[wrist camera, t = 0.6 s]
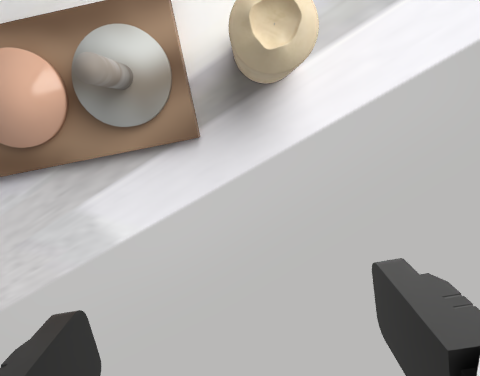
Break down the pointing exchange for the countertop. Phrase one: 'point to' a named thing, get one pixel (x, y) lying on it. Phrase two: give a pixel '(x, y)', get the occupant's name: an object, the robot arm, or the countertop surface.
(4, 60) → the pad
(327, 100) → the countertop surface
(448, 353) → the robot arm
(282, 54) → the candle
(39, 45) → the board
